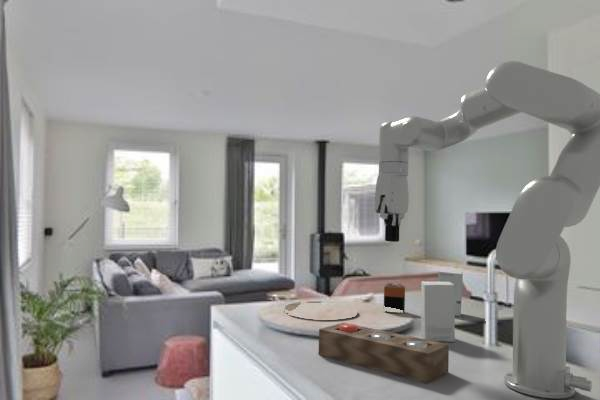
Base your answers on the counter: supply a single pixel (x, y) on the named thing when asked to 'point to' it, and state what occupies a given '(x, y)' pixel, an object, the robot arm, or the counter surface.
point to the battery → (394, 296)
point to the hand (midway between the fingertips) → (392, 241)
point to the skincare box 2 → (457, 280)
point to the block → (386, 353)
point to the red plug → (348, 328)
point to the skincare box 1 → (438, 311)
